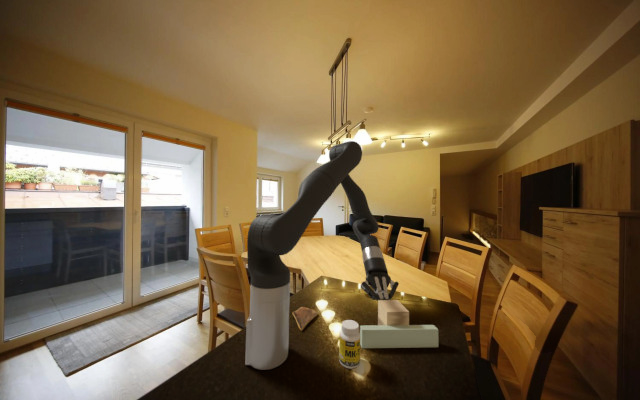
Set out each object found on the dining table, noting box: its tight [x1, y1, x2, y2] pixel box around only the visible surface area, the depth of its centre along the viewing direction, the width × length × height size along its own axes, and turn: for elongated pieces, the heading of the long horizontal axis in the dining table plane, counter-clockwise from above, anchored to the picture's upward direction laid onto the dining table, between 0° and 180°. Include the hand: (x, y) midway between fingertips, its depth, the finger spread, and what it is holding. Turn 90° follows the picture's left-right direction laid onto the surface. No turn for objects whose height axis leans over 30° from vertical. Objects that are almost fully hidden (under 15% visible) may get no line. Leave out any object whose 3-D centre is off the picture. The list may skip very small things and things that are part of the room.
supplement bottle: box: [338, 319, 361, 370], centre depth 47 cm, size 5×5×8 cm
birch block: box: [377, 299, 410, 325], centre depth 58 cm, size 6×7×8 cm
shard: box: [292, 306, 319, 332], centre depth 64 cm, size 11×8×2 cm
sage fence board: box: [359, 324, 439, 349], centre depth 53 cm, size 20×2×4 cm, turn 93°
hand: (386, 313), depth 62 cm, fingers closed
